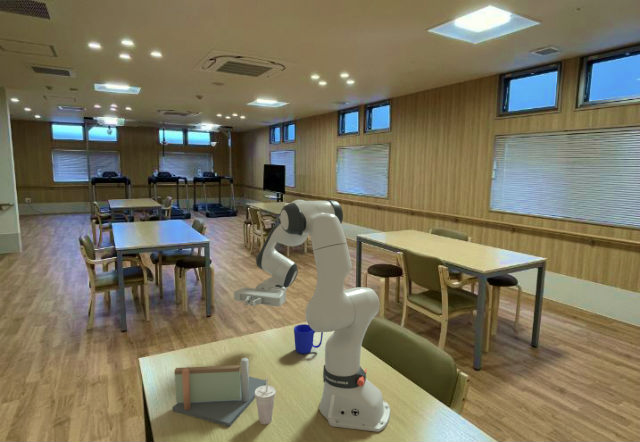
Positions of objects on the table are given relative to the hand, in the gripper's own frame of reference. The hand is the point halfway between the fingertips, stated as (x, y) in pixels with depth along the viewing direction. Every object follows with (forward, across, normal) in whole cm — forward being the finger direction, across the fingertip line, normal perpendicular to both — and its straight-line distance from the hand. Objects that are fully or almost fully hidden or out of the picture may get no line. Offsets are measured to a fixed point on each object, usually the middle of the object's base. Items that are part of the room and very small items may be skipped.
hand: (248, 303), depth 143 cm
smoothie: (+25, +20, +26) cm, 41 cm away
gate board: (+19, +1, +26) cm, 32 cm away
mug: (-20, +16, +26) cm, 36 cm away
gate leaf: (+25, -1, +24) cm, 34 cm away
